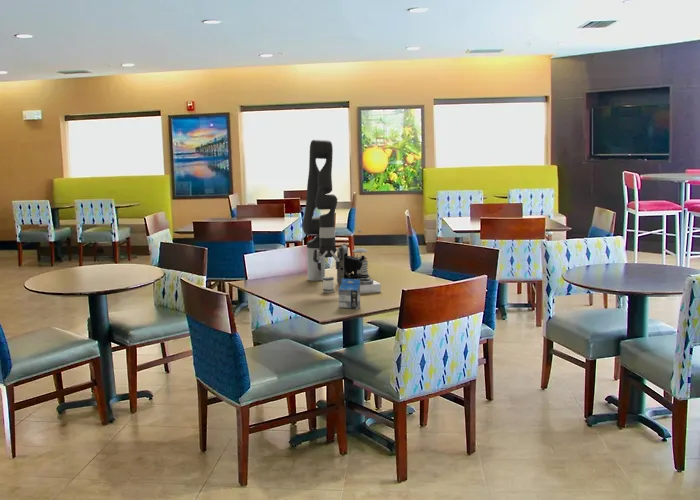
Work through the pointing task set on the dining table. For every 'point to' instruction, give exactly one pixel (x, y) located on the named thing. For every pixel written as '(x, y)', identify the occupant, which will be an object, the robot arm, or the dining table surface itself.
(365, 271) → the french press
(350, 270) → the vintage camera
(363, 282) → the octagonal ring slab
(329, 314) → the dining table surface
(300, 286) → the dining table surface
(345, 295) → the blue printed box
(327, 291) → the cream grey cylinder
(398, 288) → the dining table surface
